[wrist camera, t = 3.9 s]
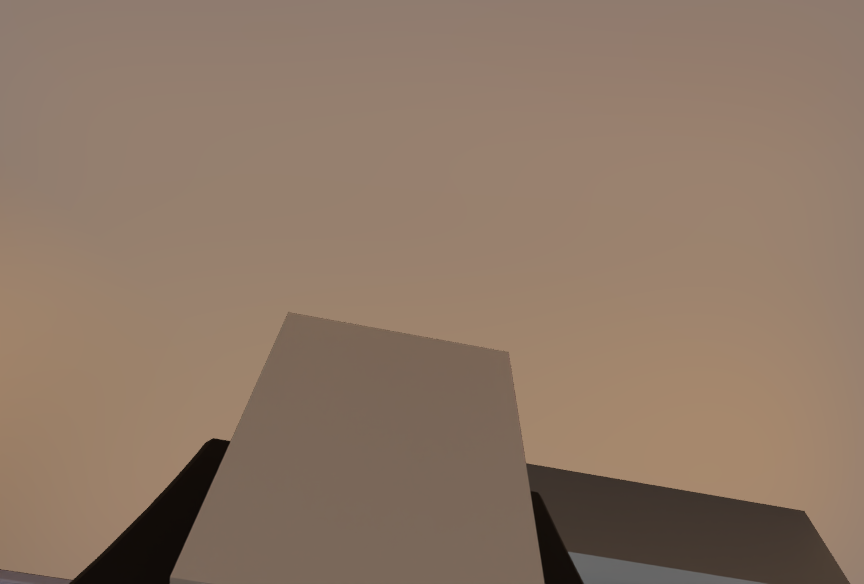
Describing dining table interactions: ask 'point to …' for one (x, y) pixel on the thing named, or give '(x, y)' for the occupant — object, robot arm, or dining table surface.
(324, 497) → the plug block
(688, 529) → the walled box
